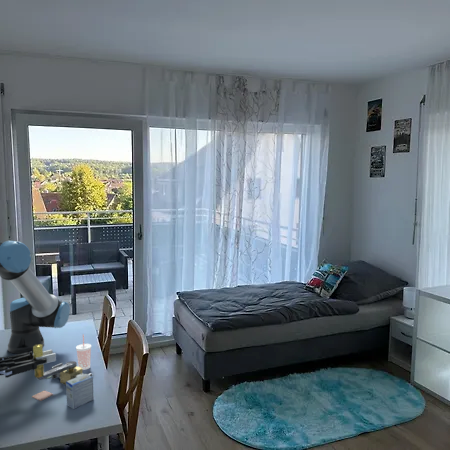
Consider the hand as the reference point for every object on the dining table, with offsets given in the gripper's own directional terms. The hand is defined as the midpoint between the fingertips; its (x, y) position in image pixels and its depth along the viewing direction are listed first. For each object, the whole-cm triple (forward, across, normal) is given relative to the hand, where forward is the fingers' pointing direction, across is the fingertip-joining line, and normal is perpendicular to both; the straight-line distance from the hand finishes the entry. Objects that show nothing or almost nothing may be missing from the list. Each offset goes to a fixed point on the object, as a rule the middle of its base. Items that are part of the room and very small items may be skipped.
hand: (53, 355), depth 152 cm
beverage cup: (+15, -12, -14) cm, 24 cm away
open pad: (+1, -14, -13) cm, 20 cm away
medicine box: (+4, +14, -14) cm, 20 cm away
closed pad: (-5, +2, -14) cm, 14 cm away
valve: (+7, -3, -13) cm, 15 cm away
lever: (+1, -1, -7) cm, 8 cm away
